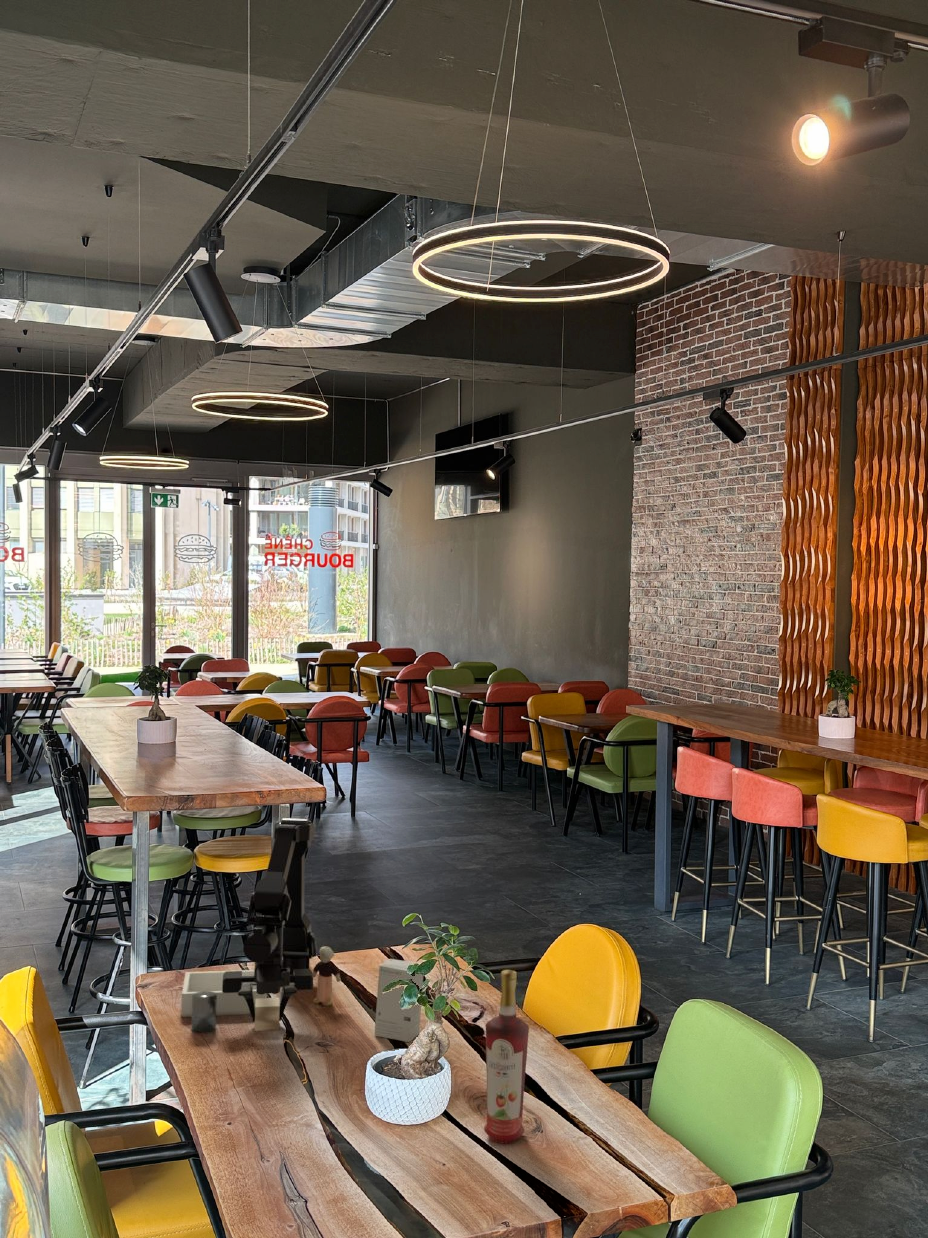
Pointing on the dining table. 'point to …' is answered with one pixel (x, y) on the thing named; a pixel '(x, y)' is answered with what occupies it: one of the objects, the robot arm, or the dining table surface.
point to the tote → (213, 983)
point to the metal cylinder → (204, 1012)
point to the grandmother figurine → (325, 976)
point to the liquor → (506, 1066)
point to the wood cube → (267, 1014)
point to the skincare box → (396, 1003)
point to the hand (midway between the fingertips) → (266, 1021)
